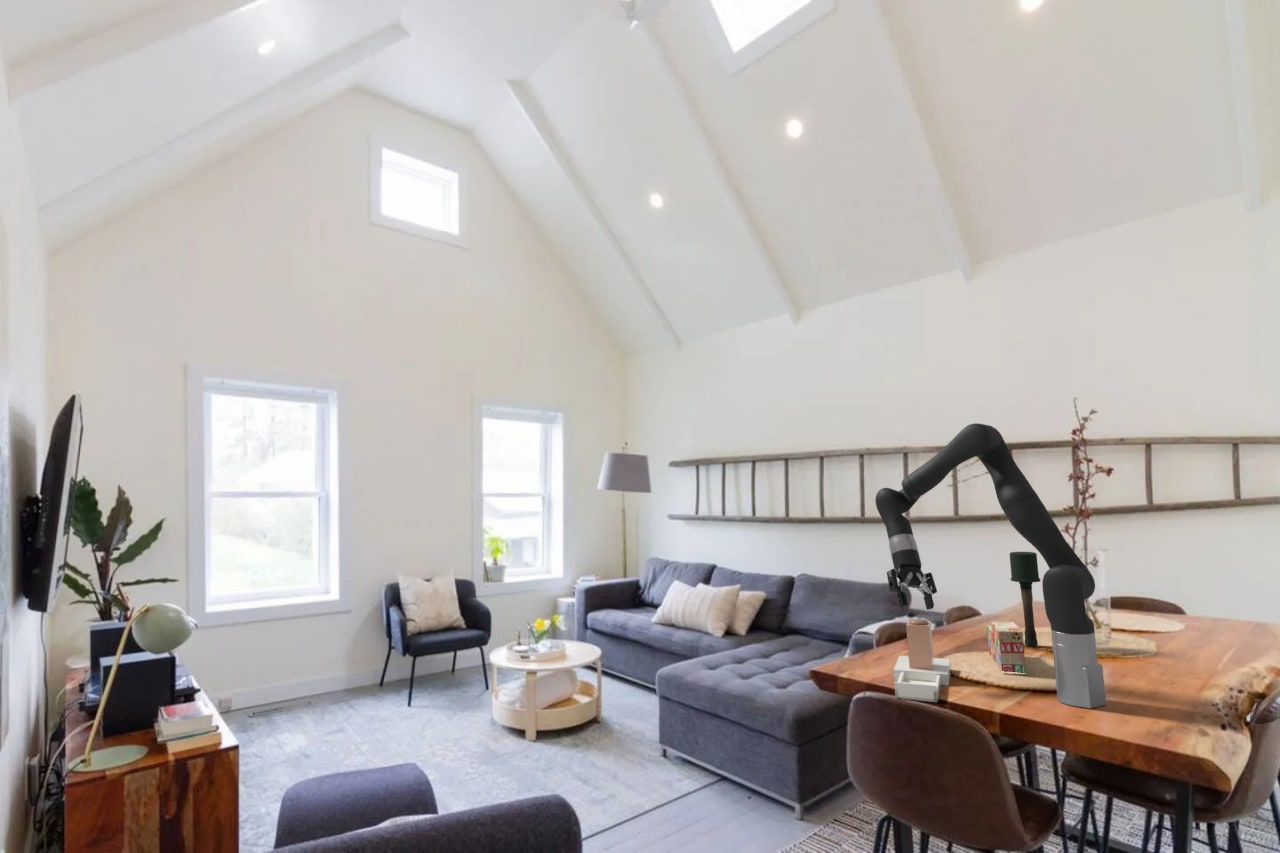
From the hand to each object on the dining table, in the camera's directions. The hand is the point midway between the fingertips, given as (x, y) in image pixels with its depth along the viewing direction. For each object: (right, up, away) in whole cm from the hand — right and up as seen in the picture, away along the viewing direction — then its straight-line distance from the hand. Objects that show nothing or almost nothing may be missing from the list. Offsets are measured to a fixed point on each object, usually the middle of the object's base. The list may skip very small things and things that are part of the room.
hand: (917, 607), depth 188 cm
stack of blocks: (+31, -20, +12) cm, 39 cm away
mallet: (+50, -21, +30) cm, 62 cm away
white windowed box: (+4, -21, +5) cm, 22 cm away
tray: (-3, -20, -9) cm, 22 cm away
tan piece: (+3, -18, +4) cm, 18 cm away
